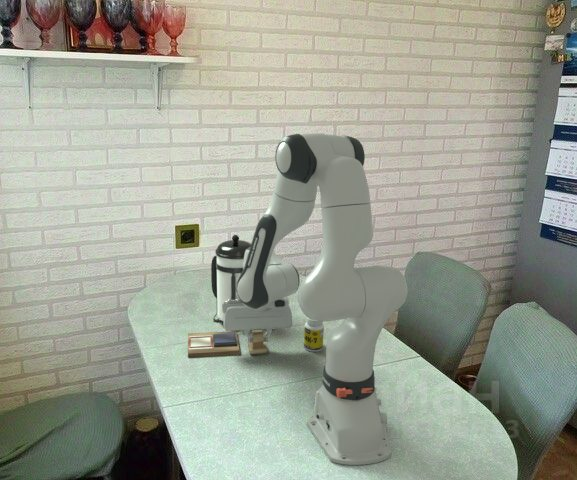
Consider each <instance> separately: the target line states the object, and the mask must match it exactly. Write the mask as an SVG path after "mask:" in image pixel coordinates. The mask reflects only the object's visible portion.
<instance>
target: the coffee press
mask: <svg viewBox="0 0 577 480" xmlns="http://www.w3.org/2000/svg"><path fill="white" fill-rule="evenodd" d="M249 247H251V242H249V241H246V240H240V236H239V235H237V234H233V236H232V237H231V240H226V241H223V242H220V244H218V246H217V247H216V249H215V251H214V252H215V255H214V256H213V258H212V260H211V266H210V267H211V268H210V269H211V271H210V272H211V273H210V274H211V276H210V278H211V281H210V283H211V290H212V294H213V296H214V298H215V299H216V314H214V316H213V322H218V321H221V322H223V321H224V313H223V311H222V305H223V303H224V302H225V301H227V300H229V299H232V300H236V299H239V297H238V295H237V282H238V279H239V277H240V274H241V273H242V271H243V261H244V254H245V251H246V249H247V248H249ZM216 316H217V319H215V318H216Z"/></svg>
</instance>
